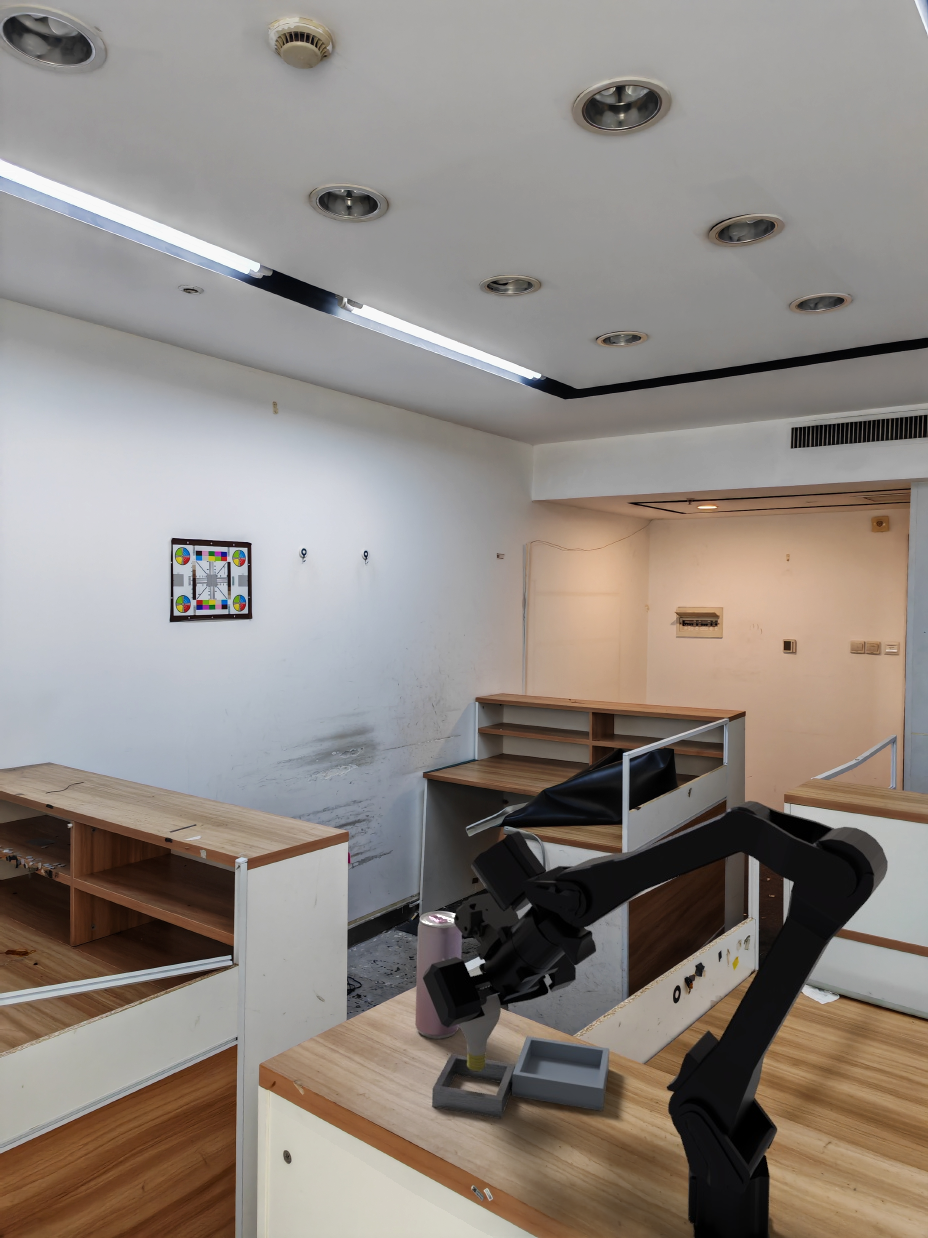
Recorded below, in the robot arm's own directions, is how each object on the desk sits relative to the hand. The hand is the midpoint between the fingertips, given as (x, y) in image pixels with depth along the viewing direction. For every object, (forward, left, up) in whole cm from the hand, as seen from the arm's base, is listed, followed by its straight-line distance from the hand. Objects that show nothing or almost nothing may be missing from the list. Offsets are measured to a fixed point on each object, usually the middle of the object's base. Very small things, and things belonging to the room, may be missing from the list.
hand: (470, 1009), depth 96 cm
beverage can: (+8, -13, -9) cm, 17 cm away
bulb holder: (-1, +1, -9) cm, 9 cm away
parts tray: (-10, -5, -9) cm, 15 cm away
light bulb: (-1, +1, -7) cm, 7 cm away
